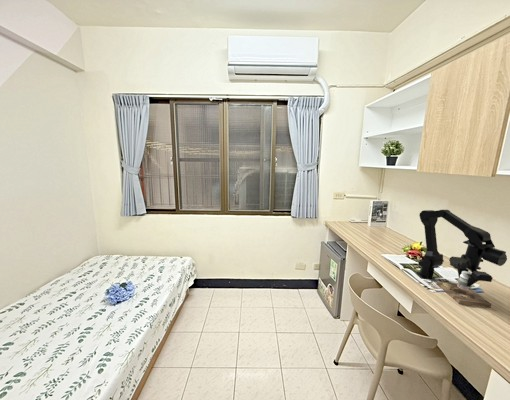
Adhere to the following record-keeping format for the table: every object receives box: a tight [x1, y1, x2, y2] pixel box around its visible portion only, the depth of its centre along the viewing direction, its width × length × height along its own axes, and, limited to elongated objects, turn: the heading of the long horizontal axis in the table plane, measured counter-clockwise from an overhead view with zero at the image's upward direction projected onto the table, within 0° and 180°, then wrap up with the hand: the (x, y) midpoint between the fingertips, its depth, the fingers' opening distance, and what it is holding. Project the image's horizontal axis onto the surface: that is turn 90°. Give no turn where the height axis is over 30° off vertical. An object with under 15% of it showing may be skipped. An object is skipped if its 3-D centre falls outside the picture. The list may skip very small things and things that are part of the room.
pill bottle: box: [456, 271, 472, 290], centre depth 111 cm, size 5×5×8 cm
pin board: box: [436, 280, 493, 309], centre depth 113 cm, size 16×14×2 cm
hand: (464, 283), depth 111 cm, fingers closed on pill bottle, 5 cm apart
